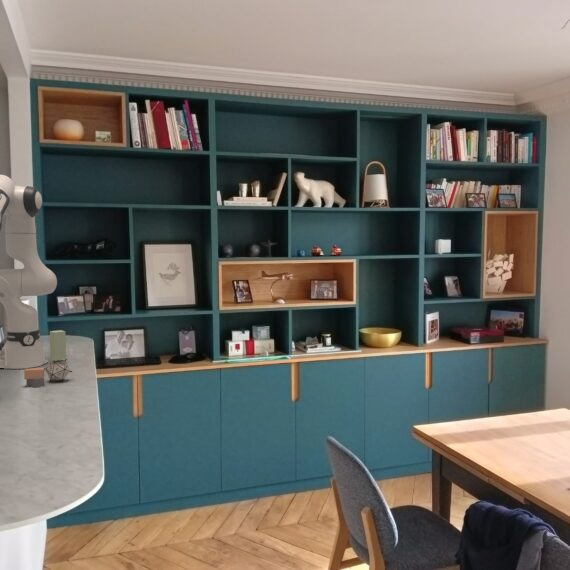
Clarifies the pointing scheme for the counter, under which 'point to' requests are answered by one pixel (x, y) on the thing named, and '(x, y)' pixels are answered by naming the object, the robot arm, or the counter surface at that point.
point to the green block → (57, 345)
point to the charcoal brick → (35, 382)
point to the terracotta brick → (34, 373)
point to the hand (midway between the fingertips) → (8, 296)
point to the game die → (58, 370)
